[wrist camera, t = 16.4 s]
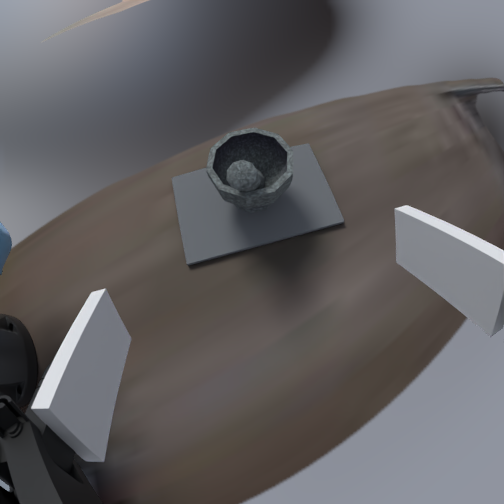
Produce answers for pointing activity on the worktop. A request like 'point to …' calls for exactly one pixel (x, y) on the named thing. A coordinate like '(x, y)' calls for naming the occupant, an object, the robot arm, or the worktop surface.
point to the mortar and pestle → (251, 168)
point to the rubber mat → (252, 224)
